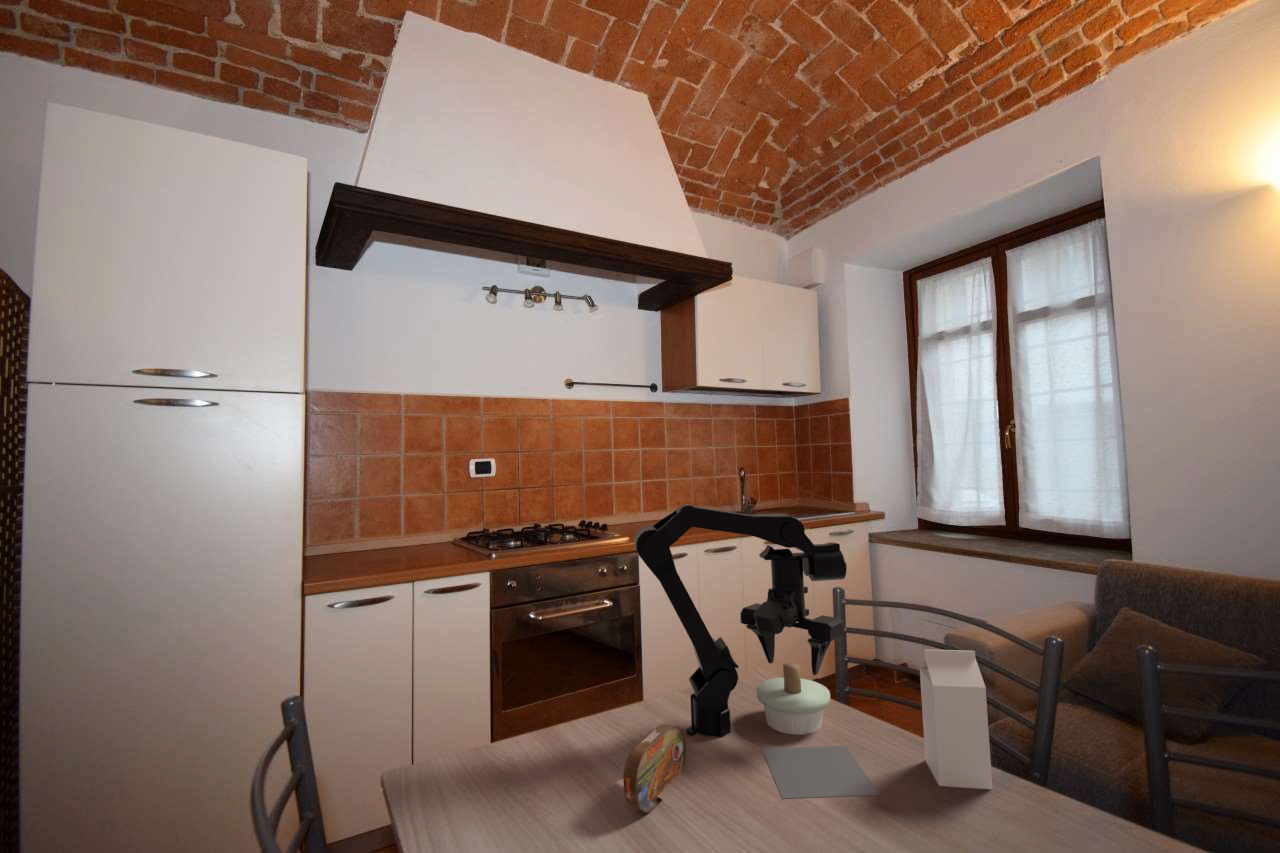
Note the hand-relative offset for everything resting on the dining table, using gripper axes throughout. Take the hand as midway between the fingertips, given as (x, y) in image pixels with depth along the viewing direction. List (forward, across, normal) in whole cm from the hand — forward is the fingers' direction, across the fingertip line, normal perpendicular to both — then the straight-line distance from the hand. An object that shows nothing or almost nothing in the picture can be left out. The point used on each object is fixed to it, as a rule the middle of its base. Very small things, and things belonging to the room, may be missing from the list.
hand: (792, 668), depth 105 cm
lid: (+5, 0, 0) cm, 5 cm away
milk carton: (+11, +27, +1) cm, 29 cm away
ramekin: (+11, 0, 0) cm, 11 cm away
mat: (+10, +11, -12) cm, 19 cm away
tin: (+10, -4, -32) cm, 34 cm away
